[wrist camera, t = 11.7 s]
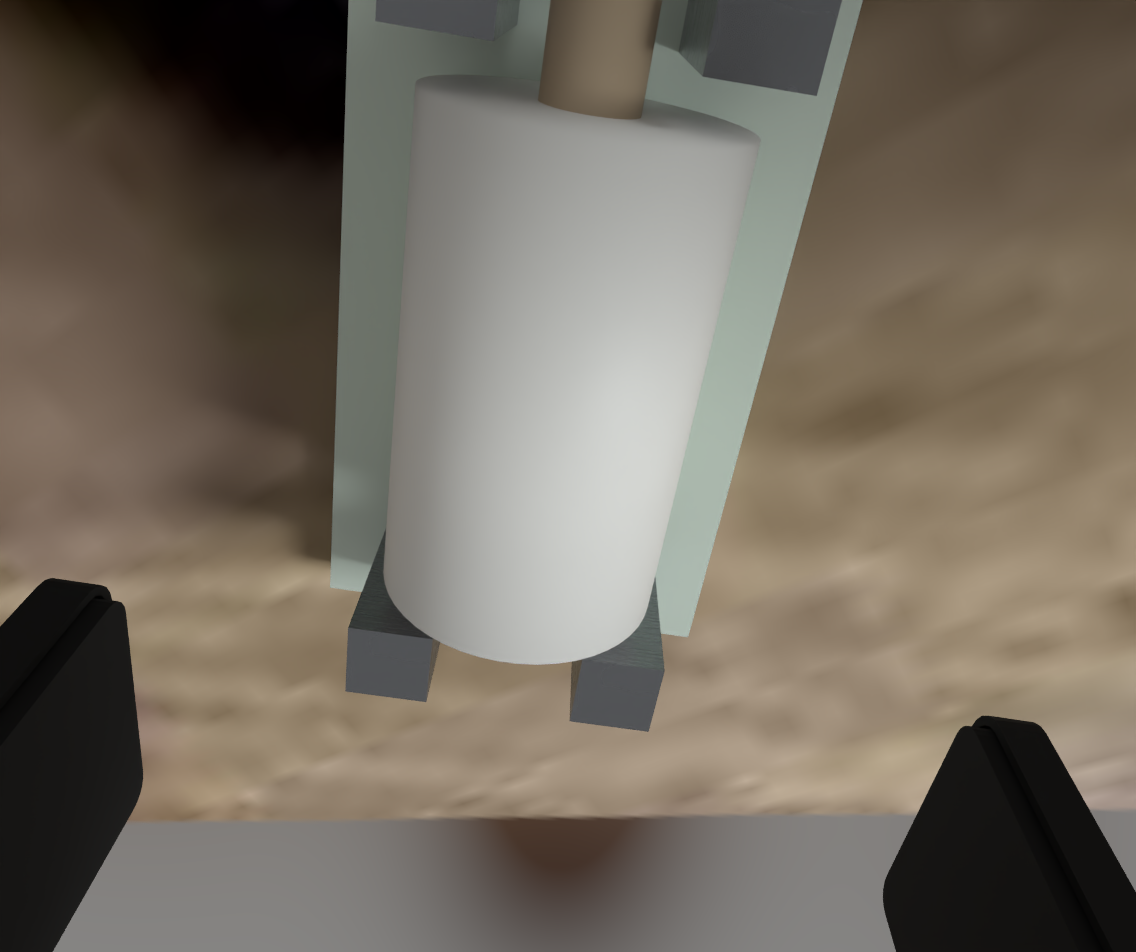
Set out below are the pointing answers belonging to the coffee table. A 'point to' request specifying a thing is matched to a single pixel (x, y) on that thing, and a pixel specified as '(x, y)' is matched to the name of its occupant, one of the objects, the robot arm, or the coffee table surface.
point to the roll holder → (746, 318)
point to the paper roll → (553, 338)
